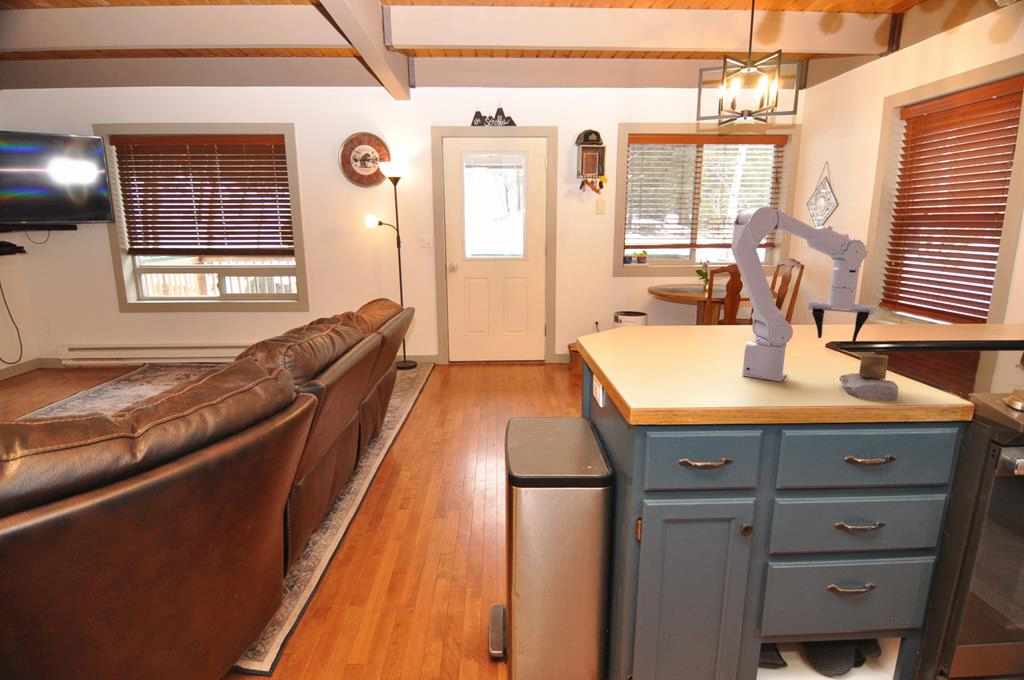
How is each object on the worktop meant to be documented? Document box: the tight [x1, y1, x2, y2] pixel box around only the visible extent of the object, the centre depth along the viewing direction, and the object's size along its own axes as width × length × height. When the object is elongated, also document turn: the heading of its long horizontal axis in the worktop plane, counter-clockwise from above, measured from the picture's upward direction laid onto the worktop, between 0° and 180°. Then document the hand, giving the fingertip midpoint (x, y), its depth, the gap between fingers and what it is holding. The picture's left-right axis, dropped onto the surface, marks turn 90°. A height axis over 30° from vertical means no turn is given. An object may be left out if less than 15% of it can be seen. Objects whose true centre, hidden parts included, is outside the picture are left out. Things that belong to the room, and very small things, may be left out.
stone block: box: [839, 372, 899, 401], centre depth 126 cm, size 12×5×10 cm
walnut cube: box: [858, 352, 889, 380], centre depth 125 cm, size 5×5×5 cm
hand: (836, 339), depth 137 cm, fingers open, 7 cm apart
